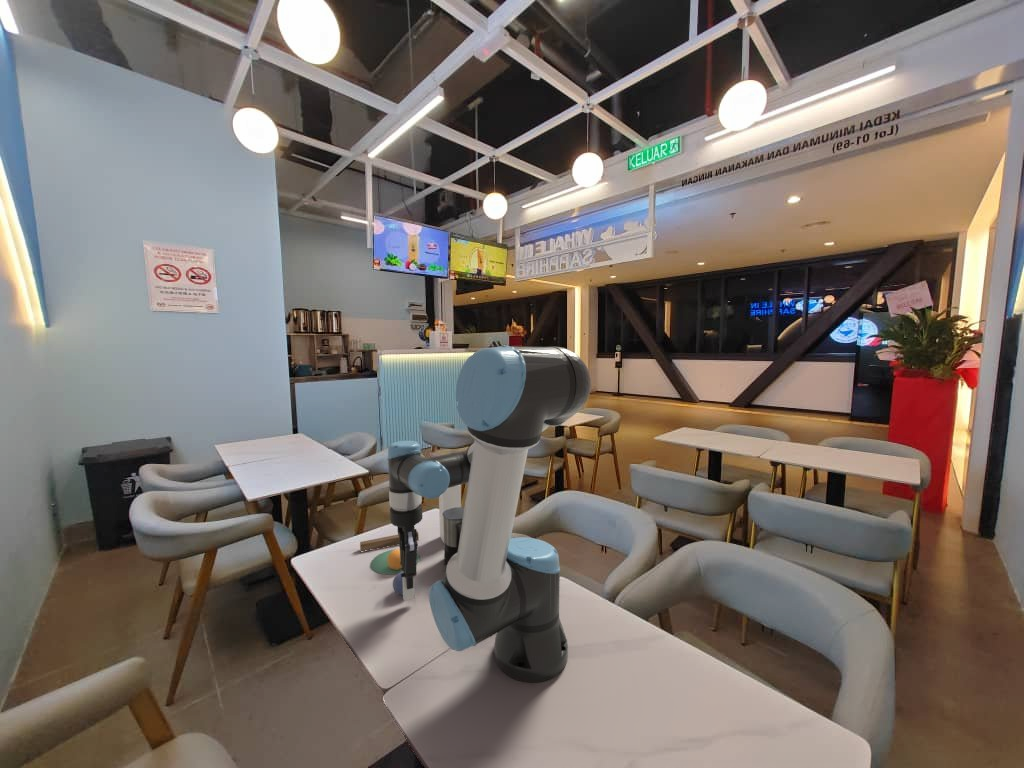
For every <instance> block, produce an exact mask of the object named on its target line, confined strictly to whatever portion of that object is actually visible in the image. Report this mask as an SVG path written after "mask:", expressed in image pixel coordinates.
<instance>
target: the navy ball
mask: <svg viewBox="0 0 1024 768" xmlns="http://www.w3.org/2000/svg"><path fill="white" fill-rule="evenodd" d="M402 573H404V571H402V572H400V573H396V575H395V576H394V578H393V580H392V590H393V591H394V593H396V594H397V595H398V596H399V595H400V596H403V580H402V578H401V574H402Z"/></svg>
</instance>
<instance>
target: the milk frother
mask: <svg viewBox="0 0 1024 768" xmlns="http://www.w3.org/2000/svg"><path fill="white" fill-rule="evenodd" d="M464 507H465V506H463V507H462V506H461V507H456V508H450V509H447V510H445V511H444V512H443V513H442V515H443V519H444V543H443V545H444V553H443V554H444V555H443V563H444V565H445V566H446V567H447V564H448V562H449V560H450V559H451V557H452V556H453V555H454V554H456V553H457V552H458V547H459V540H460V533H461V527H462V520H463V514H464Z"/></svg>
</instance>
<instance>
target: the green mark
mask: <svg viewBox="0 0 1024 768" xmlns="http://www.w3.org/2000/svg"><path fill="white" fill-rule="evenodd" d="M395 549H396V548H395ZM395 549H391V550H386V551H383V552H382V553H380V554H378V555H376V556H375V557H374V558H373V559H372V560H371V562H370V569H371V570H372V571H373V572H374V573H377V574H381V575H395V574H396V575H397V574H398V573H400V572H402V568H401V569H398V570H394V569H391V568H390V567H389V565H388V563H387V558H388V555H389V554H390V553H391V552H392V551H393V550H395ZM419 555H420V554H419V553H418V552H417V564H418V563H419V560H420V556H419Z"/></svg>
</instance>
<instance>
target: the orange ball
mask: <svg viewBox="0 0 1024 768" xmlns="http://www.w3.org/2000/svg"><path fill="white" fill-rule="evenodd" d="M392 550H393V551H392V552H391V553H390V554H389V555H388V558H387V563H388V565H389V567H390V568H391V569H394V570H398V569H401V568H402V565H401V564H400V562H401V560H400V548H397V549H396V548H395V550H394V549H392Z"/></svg>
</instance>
